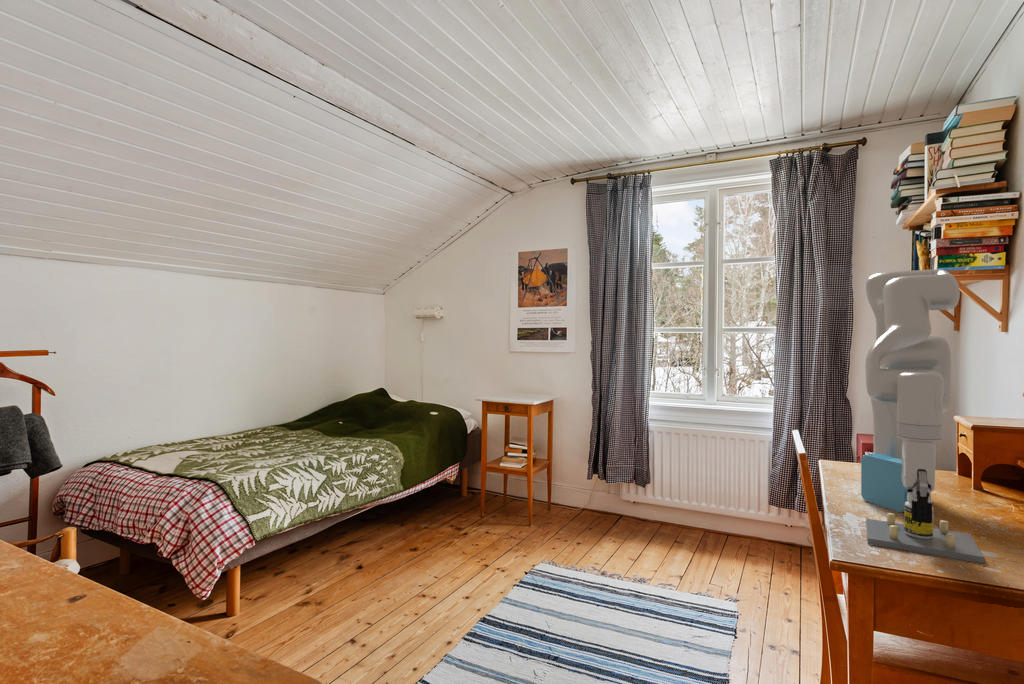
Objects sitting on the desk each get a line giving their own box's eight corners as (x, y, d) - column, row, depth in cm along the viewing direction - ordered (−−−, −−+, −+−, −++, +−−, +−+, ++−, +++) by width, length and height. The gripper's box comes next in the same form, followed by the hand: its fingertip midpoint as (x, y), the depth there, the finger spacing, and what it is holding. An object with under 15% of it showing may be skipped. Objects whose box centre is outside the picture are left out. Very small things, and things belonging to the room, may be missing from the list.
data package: (919, 512, 129) (919, 462, 129) (903, 514, 128) (903, 464, 128) (875, 498, 141) (875, 452, 141) (860, 499, 140) (860, 453, 140)
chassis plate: (866, 523, 121) (866, 507, 121) (969, 539, 112) (969, 521, 112) (867, 543, 110) (867, 525, 110) (983, 563, 100) (983, 543, 100)
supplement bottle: (898, 532, 112) (899, 492, 112) (913, 530, 114) (914, 490, 114) (923, 540, 108) (924, 499, 108) (938, 537, 109) (939, 496, 109)
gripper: (894, 424, 120) (894, 501, 120) (899, 437, 105) (899, 524, 105) (936, 427, 116) (936, 506, 116) (949, 440, 101) (948, 531, 101)
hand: (919, 515), depth 111 cm, fingers open, 9 cm apart
